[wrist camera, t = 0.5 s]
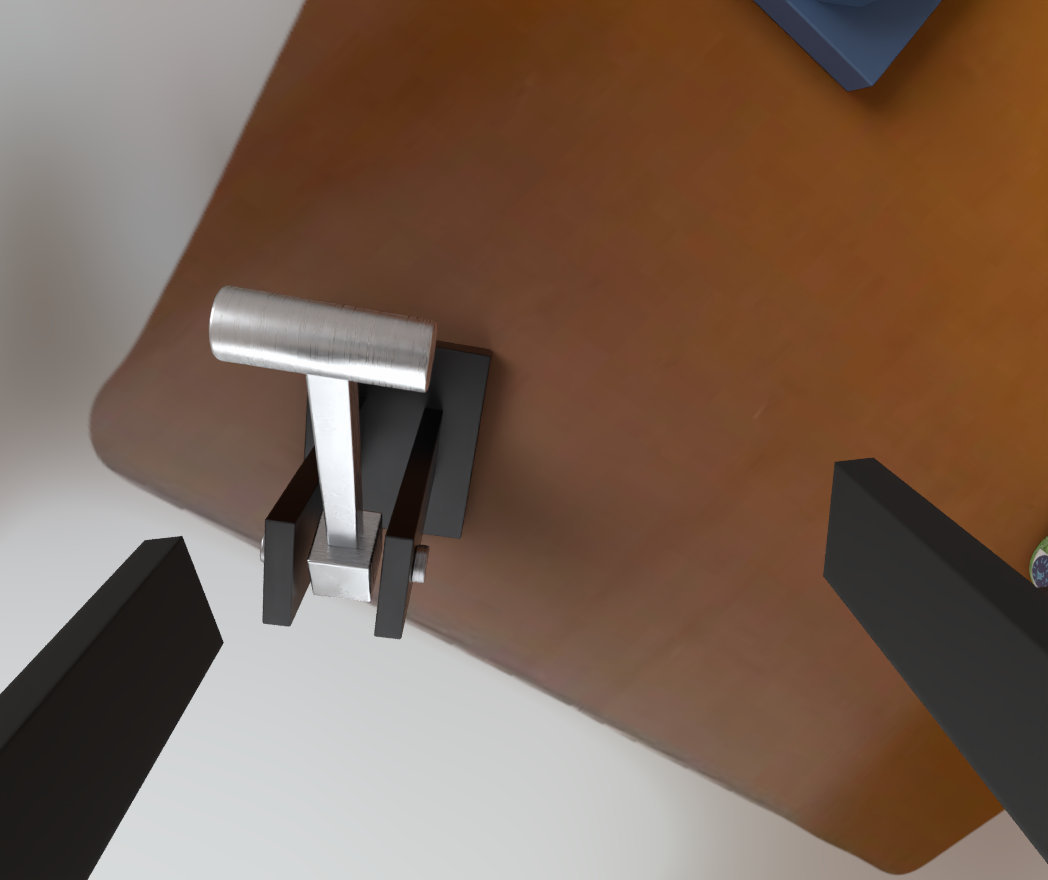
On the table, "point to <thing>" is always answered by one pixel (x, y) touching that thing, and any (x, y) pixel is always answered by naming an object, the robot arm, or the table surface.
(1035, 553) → the beverage can
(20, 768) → the robot arm
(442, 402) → the bracket
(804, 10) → the button box
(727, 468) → the table surface
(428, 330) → the lever
